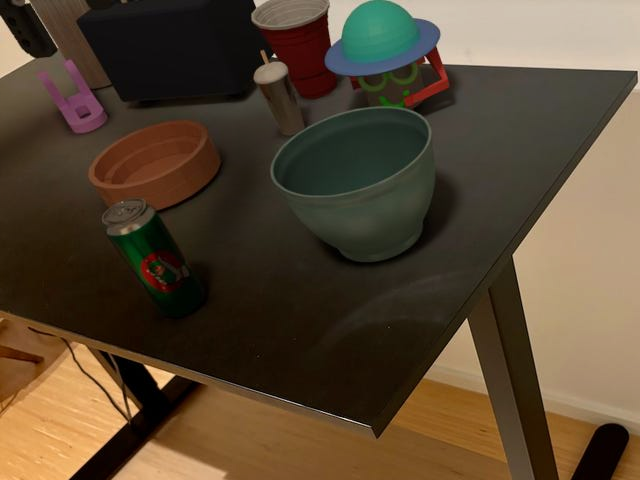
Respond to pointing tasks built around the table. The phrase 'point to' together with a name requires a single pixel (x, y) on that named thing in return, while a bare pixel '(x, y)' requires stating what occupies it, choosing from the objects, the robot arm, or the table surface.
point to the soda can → (153, 256)
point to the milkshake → (279, 95)
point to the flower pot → (360, 180)
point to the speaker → (176, 47)
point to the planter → (71, 37)
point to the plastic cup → (299, 41)
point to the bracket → (76, 101)
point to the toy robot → (387, 54)
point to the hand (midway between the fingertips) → (76, 30)
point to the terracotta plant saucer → (156, 164)
